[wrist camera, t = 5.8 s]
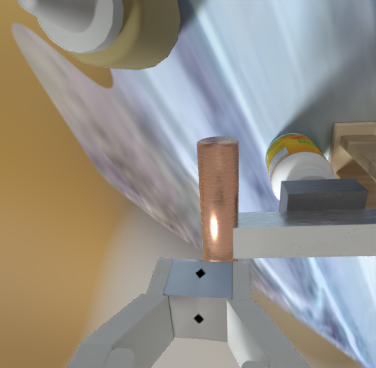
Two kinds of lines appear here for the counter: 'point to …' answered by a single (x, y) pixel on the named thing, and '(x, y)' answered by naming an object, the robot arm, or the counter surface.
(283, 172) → the supplement bottle
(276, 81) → the counter surface
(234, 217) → the lever
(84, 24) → the squeeze bottle
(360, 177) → the press stand
